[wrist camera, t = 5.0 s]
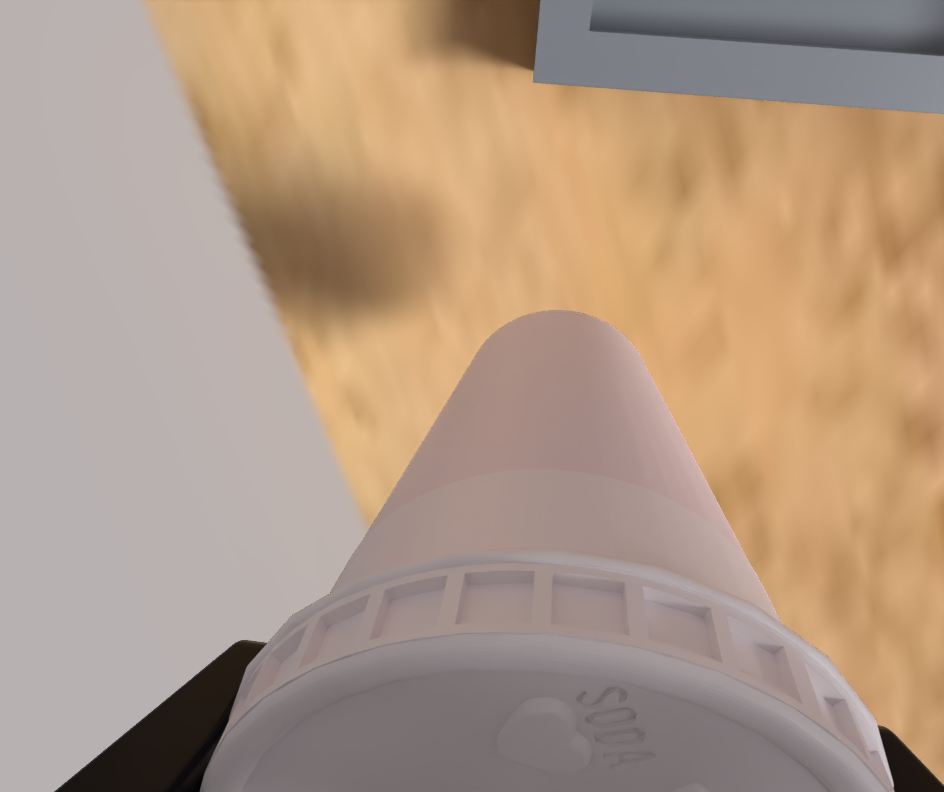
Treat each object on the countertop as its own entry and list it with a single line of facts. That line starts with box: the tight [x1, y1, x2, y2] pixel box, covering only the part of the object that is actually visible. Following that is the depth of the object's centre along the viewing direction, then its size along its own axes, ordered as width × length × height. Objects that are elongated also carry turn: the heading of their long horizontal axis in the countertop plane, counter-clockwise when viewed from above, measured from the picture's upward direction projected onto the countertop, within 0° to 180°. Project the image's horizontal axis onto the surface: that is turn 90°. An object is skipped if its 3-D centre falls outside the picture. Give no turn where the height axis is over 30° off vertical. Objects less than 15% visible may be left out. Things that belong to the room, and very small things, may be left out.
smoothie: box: [200, 310, 895, 792], centre depth 9 cm, size 6×6×14 cm
